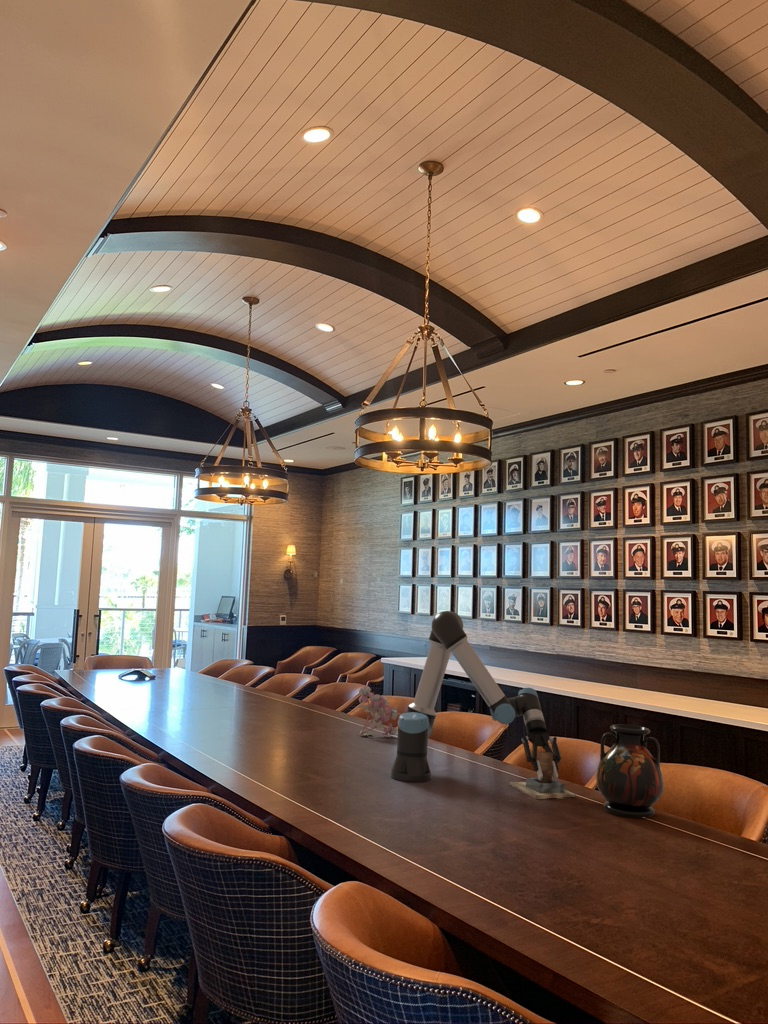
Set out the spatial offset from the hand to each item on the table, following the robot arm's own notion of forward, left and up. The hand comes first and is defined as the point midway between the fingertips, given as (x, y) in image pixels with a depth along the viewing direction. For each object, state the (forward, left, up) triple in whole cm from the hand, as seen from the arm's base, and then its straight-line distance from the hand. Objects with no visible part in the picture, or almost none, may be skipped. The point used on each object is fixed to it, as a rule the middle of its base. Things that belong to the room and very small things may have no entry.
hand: (548, 778), depth 278 cm
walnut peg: (+1, +4, -4) cm, 5 cm away
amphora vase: (+16, -25, -6) cm, 30 cm away
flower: (-25, +121, -6) cm, 123 cm away
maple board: (+1, +6, -6) cm, 8 cm away
